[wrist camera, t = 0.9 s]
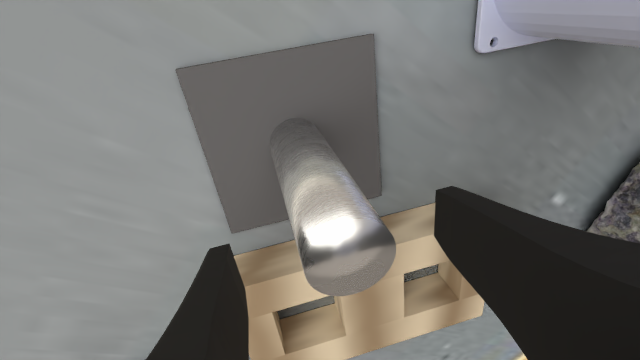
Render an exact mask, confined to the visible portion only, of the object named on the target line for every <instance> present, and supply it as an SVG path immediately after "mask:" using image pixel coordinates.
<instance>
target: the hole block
mask: <svg viewBox="0 0 640 360" xmlns="http://www.w3.org/2000/svg"><path fill="white" fill-rule="evenodd" d="M380 218H381V219H382V221H383V222H384V224H385V225H386V227H387V228H388V229H389V231H390V232H391V234H392V235H393V237H394V239H395V243H396V255H395V259H394V262H393V264H392V266H391V268H390V269H389V271H388V272H387V273H386V274H385V276H384V277H383V278H382V279H381V280H380V281H378V282H377V283H376V284H374V285H373V286H371V287H370V288H368V289H366V290H364V291H362V292H359V293H356V294H352V295H347V296H334V300H335V303H334V304H330V305H327V306H323V307H320V308H317V309H313V310H310V311H307V312H303V313H300V314H297V315H293V316H290V317H286V318H283V319H279V316H278V312H277V311H279V310H282V309H286V308H289V307H293V306H296V305H299V304H303V303H306V302H310V301H313V300H316V299H320V298H323V297H327V296H330V295H326V294H323V293H320V292H318V291H317V290H315V289H314V288H313V287H312V286H311V285H310V284H309V283H308V281H307V279H306V277H305V274H304V270H303V267H302V263H301V259H300V256H299V252H298V248H297V245H296V241H295V240H292V241H289V242H285V243H281V244H277V245H273V246H270V247H266V248H262V249H258V250H254V251H251V252H247V253H243V254H239V255H236V256H234V258H235V261H236V264H237V267H238V270H239V272H240V275H241V278H242V281H243V284H244V286H245V291H246V299H247V307H248V317H249V355H250V358H251V360H345V359H349V358H352V357H355V356H358V355H361V354H364V353H367V352H370V351H373V350H376V349H379V348H383V347H386V346H389V345H392V344H395V343H398V342H401V341H404V340H407V339H410V338H414V337H417V336H420V335H423V334H426V333H429V332H432V331H435V330H438V329H441V328H444V327H448V326H451V325H454V324H457V323H460V322H463V321H466V320H469V319H472V318H475V317H478V316H482V312H483V306H484V300H483V299H482V298H481V297H480V295H479V294H478V293H477V292H476V291H475V290H474V288H473V287H472V286H471V285H470V284H469V283H468V281H467V280H466V279H465V278H464V277H463V276H462V274H461V273H460V272H459V271H458V270H457V268H456V267H455V266H454V265H453V264H452V262H451V261H450V260H449V259H448V257H447V256H446V254H445V253H444V251H443V250H442V248H441V247H440V245H439V243H438V242H437V240H436V239H435V237H434V221H435V203H432V204H429V205H425V206H421V207H417V208H413V209H410V210H406V211H402V212H398V213H395V214H391V215H387V216H383V217H380ZM436 264H438V273H435V274H431V275H428V276H425V277H421V278H418V279H414V280H411V281H408V282H404V274H405V273H409V272H412V271H415V270H419V269H422V268H426V267H429V266H433V265H436Z"/></svg>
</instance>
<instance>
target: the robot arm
mask: <svg viewBox="0 0 640 360" xmlns="http://www.w3.org/2000/svg"><path fill="white" fill-rule="evenodd" d="M492 38H493V40H494V41H493V44H492V45H491V46H490V41H491V40H492ZM553 39H563V40H572V41H581V42H591V43H600V44H609V45H619V46H628V47H637V48H640V0H478V10H477V20H476V31H475V42H474V48H475V50H476V51H477V52H479V53H488V52H493V51H498V50H503V49H508V48H513V47H518V46H523V45H528V44H533V43H538V42H543V41H548V40H553ZM434 237H435V239H436V240H437V242H438V243H439V245H440V247H441V248H442V250H443V251H444V253H445V254H446V256H447V257H448V259H449V260H450V261H451V262H452V264H453V265H454V266H455V267H456V268H457V270H458V271H459V272H460V273H461V274H462V276H463V277H464V278H465V279H466V280H467V281H468V283H469V284H470V285H471V286H472V287H473V288H474V290H475V291H476V292H477V293H478V294H479V295H480V297H481V298H482V299H483V300H484V301H485V302H486V303H487V305H488V306H489V307H490V308H491V309H492V310H493V312H494V313H495V314H496V316H497V317H498V318H499V319H500V321H501V322H502V323H503V325H504V326H505V327H506V329H507V330H508V332H509V333H510V334H511V336H512V337H513V339H514V340H515V342H516V343H517V344H518V346H519V347H520V349H521V350H522V352H523V353H524V355H525V356H526V358H527V359H528V360H640V243H636V242H631V241H626V240H621V239H616V238H611V237H607V236H603V235H598V234H594V233H591V232H587V231H583V230H579V229H575V228H572V227H568V226H565V225H561V224H558V223H554V222H551V221H548V220H545V219H542V218H539V217H536V216H533V215H530V214H527V213H524V212H522V211H519V210H516V209H513V208H511V207H508V206H505V205H503V204H500V203H497V202H495V201H492V200H489V199H487V198H484V197H482V196H479V195H476V194H474V193H471V192H468V191H466V190H463V189H460V188H457V187H454V186H450V187H446V188H442V189H438V190H436V201H435V221H434ZM146 360H249V317H248V307H247V299H246V291H245V286H244V284H243V281H242V278H241V275H240V272H239V270H238V267H237V264H236V261H235V258H234V256H233V253H232V250H231V247H230V244H226V245H222V246H218V247H214V248H210V249H209V251H208V252H207V254H206V256H205V259H204V261H203V263H202V265H201V267H200V269H199V271H198V273H197V275H196V277H195V279H194V281H193V283H192V285H191V287H190V289H189V291H188V292H187V294H186V296H185V298H184V300H183V302H182V304H181V305H180V307H179V309H178V311H177V312H176V314H175V315H174V317H173V319H172V320H171V322H170V324H169V325H168V327H167V329H166V330H165V332H164V334H163V335H162V337H161V338H160V340H159V341H158V343H157V344H156V346H155V347H154V349H153V350H152V352H151V353H150V354H149V356H148V357H147V359H146Z"/></svg>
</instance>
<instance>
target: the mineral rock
mask: <svg viewBox="0 0 640 360" xmlns="http://www.w3.org/2000/svg"><path fill="white" fill-rule="evenodd" d="M587 232H591V233H594V234H598V235H603V236H607V237H611V238H616V239H621V240H626V241H631V242H636V243H640V162H639V164H638V165H637V166H636V167H634V168H633V169H632V171H631V172H630V174H629V176H628V177H627V179H626V180H625V181H624V182H623V183H622V184H621V185H620V187H619V189H618V190H617V191H616V192H615V193H614V194H613V195H612V197H611V198H610V200H608V201H607V204H606V207H605V211H604V212H601V213H600V214H599V216H598V217H597V218H596V219H595V220H594V222H593V224H592V225H591V227H590V228H589V229H588V230H587Z"/></svg>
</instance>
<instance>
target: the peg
mask: <svg viewBox="0 0 640 360" xmlns="http://www.w3.org/2000/svg"><path fill="white" fill-rule="evenodd" d="M270 150H271V154H272V158H273V161H274V165H275V169H276V172H277V176H278V180H279V183H280V187H281V190H282V194H283V198H284V201H285V205H286V209H287V212H288V216H289V219H290V223H291V227H292V230H293V234H294V238H295V241H296V245H297V248H298V252H299V256H300V259H301V263H302V267H303V270H304V274H305V277H306V279H307V281H308V283H309V284H310V285H311V286H312V287H313V288H314V289H315V290H317V291H318V292H320V293H323V294H326V295H330V296H347V295H352V294H356V293H359V292H362V291H364V290H366V289H368V288H370V287H371V286H373V285H374V284H376V283H377V282H378V281H380V280H381V279H382V278H383V277H384V276H385V274H386V273H387V272H388V271H389V269H390V268H391V266H392V264H393V262H394V259H395V255H396V243H395V239H394V237H393V235H392V234H391V232H390V231H389V229H388V228H387V227H386V225H385V224H384V222H383V221H382V219H381V218H380V217H379V215H378V214H377V212H376V211H375V210H374V208H373V207H372V205H371V204H370V202H369V201H368V200H367V198H366V197H365V195H364V194H363V192H362V191H361V190H360V188H359V187H358V185H357V184H356V182H355V181H354V180H353V178H352V177H351V175H350V174H349V172H348V171H347V170H346V168H345V167H344V165H343V164H342V162H341V161H340V160H339V158H338V157H337V155H336V154H335V153H334V151H333V150H332V148H331V147H330V145H329V144H328V143H327V141H326V140H325V138H324V137H323V135H322V134H321V133H320V131H319V130H318V128H317V127H316V126H315V125H314V124H313V123H312V122H310V121H308V120H306V119H303V118H291V119H288V120H285V121H283V122H282V123H280V124H279V125H278V126H277V127H276V128H275V129H274V131H273V132H272V135H271V138H270Z"/></svg>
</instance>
